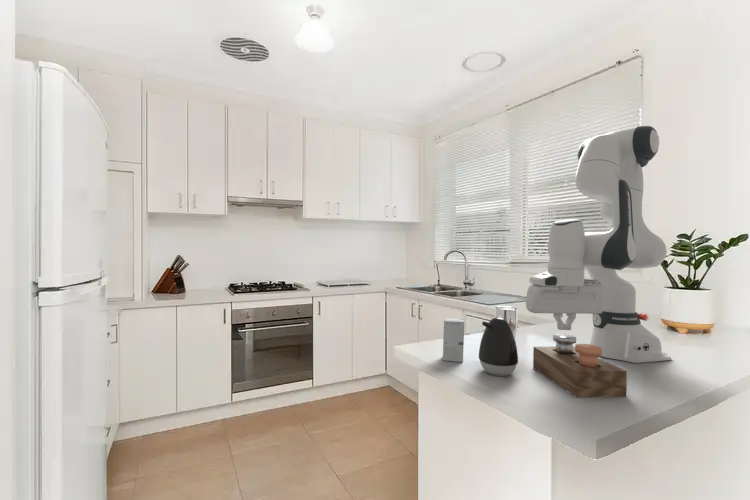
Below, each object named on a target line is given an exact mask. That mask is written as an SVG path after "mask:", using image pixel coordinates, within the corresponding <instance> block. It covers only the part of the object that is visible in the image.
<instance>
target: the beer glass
mask: <svg viewBox="0 0 750 500" xmlns="http://www.w3.org/2000/svg"><path fill="white" fill-rule="evenodd" d="M496 317H500V318H503V319H505V320H506V321H507V322H508V324H509V325H510V327H511V329H512V332H513V335H514V338H515V339H516V336H517V331H518V323H519V322H518V321H519V320H518V308H517V307H514V306H509V305H508V306H507V305H506V306H505V305H503V306H501V305H498V306H495V308H494V316H493V318H496Z"/></svg>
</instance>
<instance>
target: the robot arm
mask: <svg viewBox="0 0 750 500" xmlns="http://www.w3.org/2000/svg"><path fill="white" fill-rule="evenodd" d="M659 147H660V136H659V135H658V132H657V130H656V129H655V128H654V127H653V126H651V125H640V126H636V127H632V128H625V129H619V130H616V131H615V130H614V131H612V132H609V133H605V134H600V135H596V136H594V137H591V138H587V139H586V140H584V141H583V142H582V143H581V144H580V145H579V147H578V149H577V160H578V166H577V170H576V174H575V186H576V189H577V190H578V191H579V192H580V193H581V194H582V195H584V196H585V197H587V198H589V199H592V200H595V201H600V202H601V205H600V216H601V218H602V219H603V220H604V221H605V222H607V223H609V224H611V225H612V228H611V230H609V231H606V232H605V231H603V232H585V228H584V223H583V220H581V219H577V218H570V219H559V220H556V221H554V222H552V223H551V226H550V230H549V234H548V244H547V245H548V246H547V253H548V256H549V261H548V263H547V270H546V271H544V272H541V273H538V274H534V275H531V276H530V277H529V283H530V285H529V286H528V289H527V290H526V291H527V292H526V297H525V298H526V299H525V308H526V309H527V311H528V312H530V313H532V314H553V315H552V316H553V318H554V319H555V321H556V323H557V324H556V325H557V326H556V327H557V329H558V330H560V331H571V330H572V325H573V323H574V321H575V319H576V317H577V315H579V314H585V315H586V314H589V315H590V314H592V324H593V327H592V335H591V338H590V343H589V344H590V345H595V346H598V347H601V348H602V354H601V355H598V357H603V358H608V359H611V360H612V359H613V360H620V361H623V362H624V361H625V362H627V363H628V362H629V363H631V364H641V363H652V362H653V363H654V362H661V361H662V362H663V361H671V360H672V357H671V355H670V354H669V353H665V352H664V351H663V350H662V343H661V340H660V338H659V337H658V336H657V335H656V334H655V333H653V332H652V331H650V330H649V329H648V328H646V327H645V326H644V325H643V324H641V320H642V321H646V322H647V321H648V320H649V315H647V314H646V313H638V312H637V311H636V305H637V303H636V301H637V295H636V294H637V290H636V288H635V287H634V285H633V284H632V283H631V282H629V281H628V280H626V279H624V278H622V277H620V276H619V275H618V273H617V271H622V270H623V269H637V270H639V269H640V270H641V269H649V268H650V269H651V268H657V267H658V266H660V265H661V264H662V263H663V262H664V260H665V259H666V258H667V257H666V256H667V253H668V252H667V246H666V243H665V241H663V239H662V238H661V237H660V236H658V235H657V234H655V233H654V232H652V231H651V230H650V228H649V227H648V226H647V225H646V224H645V221H644V219H643V218H644V217H643V197H644V196H643V195H644V173H643V168H644V167H646V166H647V165H648V163H649V162H650V161H651V160H652V159H653V158H654V157H655V156H656V155H657V152H658V151H659ZM585 270H586V272H587V273H588V274H589V277H590V279H587V278H585ZM616 270H617V271H616ZM564 314H566V317H567V318H566V320H565V322H564V321H563V319H562V318H563V317H564V316H563V315H564Z"/></svg>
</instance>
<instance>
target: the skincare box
mask: <svg viewBox="0 0 750 500" xmlns="http://www.w3.org/2000/svg"><path fill="white" fill-rule="evenodd" d="M464 339H465V320H464V319H462V318H449V317H444V318H443V337H442V361H448V362H458V363H459V362H461V363H462V362H464V346H465V345H464V341H465V340H464Z"/></svg>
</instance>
